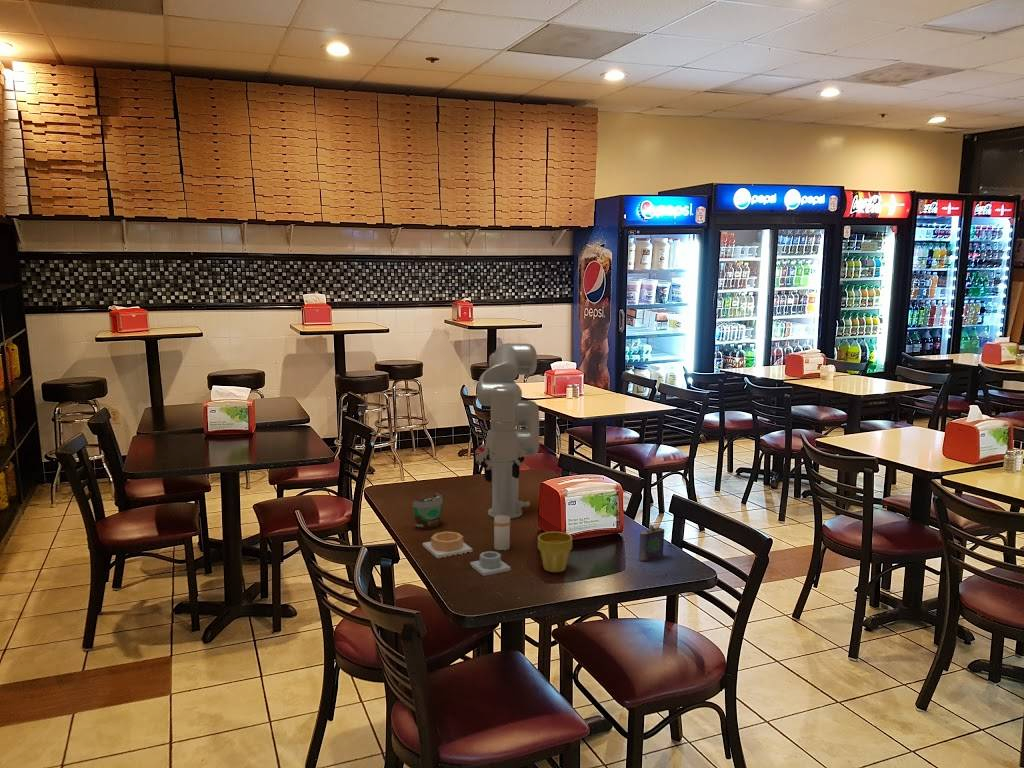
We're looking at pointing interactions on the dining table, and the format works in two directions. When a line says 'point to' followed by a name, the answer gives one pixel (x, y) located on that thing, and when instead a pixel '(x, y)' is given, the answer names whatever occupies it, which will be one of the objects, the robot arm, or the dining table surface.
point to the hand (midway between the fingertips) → (501, 479)
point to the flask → (651, 544)
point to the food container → (427, 512)
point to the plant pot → (554, 550)
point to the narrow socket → (490, 564)
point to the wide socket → (447, 544)
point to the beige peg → (501, 532)
